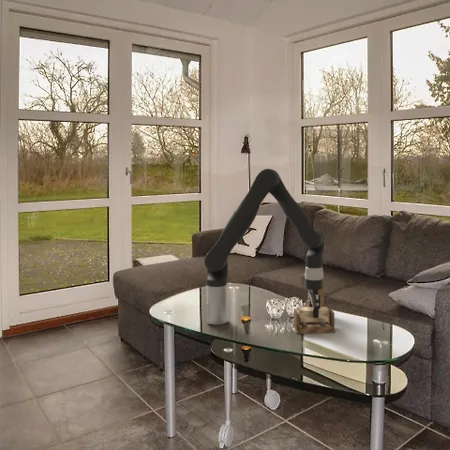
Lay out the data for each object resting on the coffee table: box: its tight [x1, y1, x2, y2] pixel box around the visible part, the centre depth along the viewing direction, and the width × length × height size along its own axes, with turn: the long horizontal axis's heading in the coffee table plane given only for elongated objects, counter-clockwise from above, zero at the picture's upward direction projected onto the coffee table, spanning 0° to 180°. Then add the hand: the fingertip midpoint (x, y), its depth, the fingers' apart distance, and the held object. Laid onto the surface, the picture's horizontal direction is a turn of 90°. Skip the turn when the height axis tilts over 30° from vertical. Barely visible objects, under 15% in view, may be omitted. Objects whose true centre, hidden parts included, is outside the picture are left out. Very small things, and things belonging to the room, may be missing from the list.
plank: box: [298, 306, 329, 322], centre depth 218 cm, size 12×5×5 cm, turn 87°
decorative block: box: [300, 271, 325, 307], centre depth 235 cm, size 11×6×20 cm, turn 132°
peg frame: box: [292, 307, 336, 335], centre depth 218 cm, size 16×10×8 cm, turn 91°
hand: (313, 314), depth 218 cm, fingers open, 8 cm apart
